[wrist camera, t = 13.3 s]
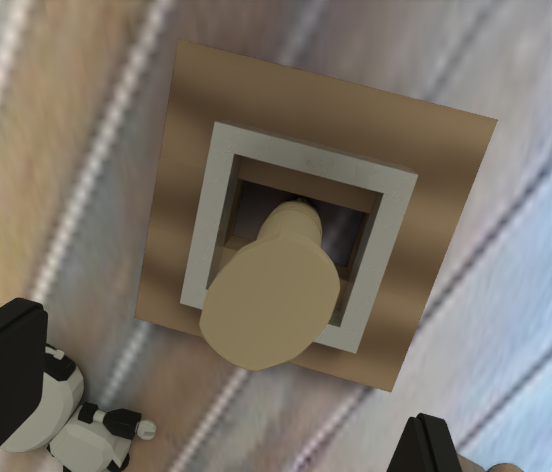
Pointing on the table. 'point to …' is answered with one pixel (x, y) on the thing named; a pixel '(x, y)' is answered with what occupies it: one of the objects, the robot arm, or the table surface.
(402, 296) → the board
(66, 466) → the robot toy
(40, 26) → the table surface
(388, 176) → the collar
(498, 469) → the wooden toy
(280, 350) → the handle
